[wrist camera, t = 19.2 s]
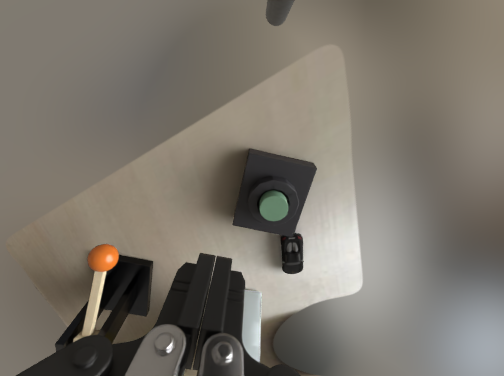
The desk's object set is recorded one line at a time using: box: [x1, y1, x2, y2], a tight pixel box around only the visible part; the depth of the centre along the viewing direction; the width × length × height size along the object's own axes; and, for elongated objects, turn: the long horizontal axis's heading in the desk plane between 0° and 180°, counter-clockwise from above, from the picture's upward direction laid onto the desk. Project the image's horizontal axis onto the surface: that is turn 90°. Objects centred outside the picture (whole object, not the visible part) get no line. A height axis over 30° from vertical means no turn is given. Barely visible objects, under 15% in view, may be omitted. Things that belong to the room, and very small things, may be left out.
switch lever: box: [73, 244, 119, 342], centre depth 33 cm, size 15×4×4 cm, turn 167°
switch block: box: [233, 149, 317, 237], centre depth 34 cm, size 11×9×4 cm
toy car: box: [281, 233, 304, 274], centre depth 39 cm, size 8×3×2 cm, turn 5°
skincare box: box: [242, 290, 262, 362], centre depth 40 cm, size 21×6×16 cm, turn 172°
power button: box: [259, 190, 288, 221], centre depth 31 cm, size 4×4×2 cm
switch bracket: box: [55, 255, 153, 352], centre depth 37 cm, size 12×9×13 cm
